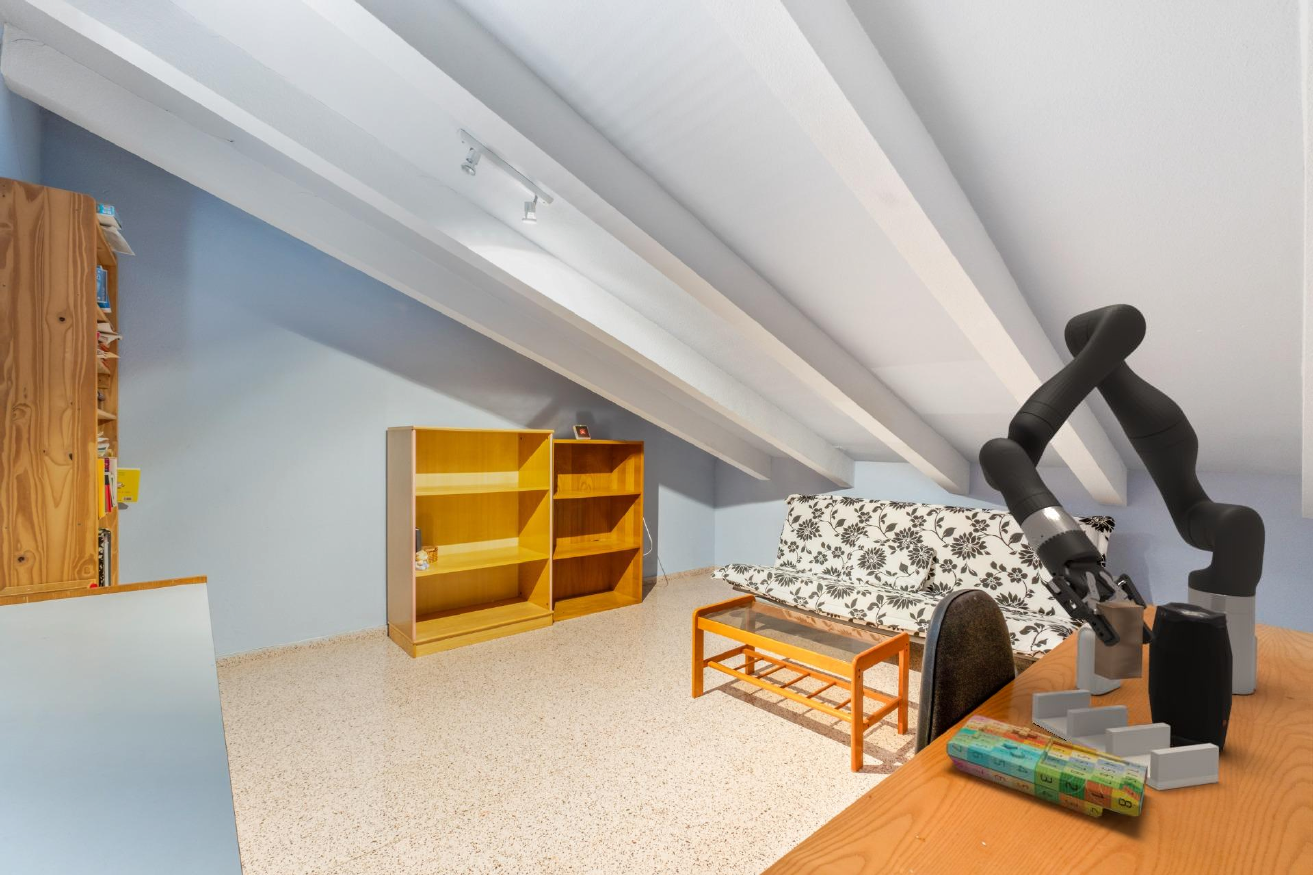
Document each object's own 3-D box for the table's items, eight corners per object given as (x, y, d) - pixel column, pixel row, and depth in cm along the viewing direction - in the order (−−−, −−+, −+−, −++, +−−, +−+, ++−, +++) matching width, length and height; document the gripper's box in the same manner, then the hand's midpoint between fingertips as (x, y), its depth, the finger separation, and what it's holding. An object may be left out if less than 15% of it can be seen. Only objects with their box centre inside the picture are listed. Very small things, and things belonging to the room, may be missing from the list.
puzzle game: (972, 709, 90) (1148, 758, 77) (971, 741, 90) (1147, 796, 77) (946, 736, 82) (1139, 797, 68) (945, 772, 82) (1138, 840, 68)
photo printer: (1097, 678, 116) (1099, 612, 116) (1125, 686, 113) (1126, 617, 113) (1072, 689, 110) (1073, 619, 110) (1099, 698, 107) (1101, 626, 107)
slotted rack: (1084, 717, 99) (1084, 689, 99) (1218, 782, 80) (1218, 747, 80) (1032, 722, 96) (1032, 693, 96) (1157, 790, 78) (1158, 754, 78)
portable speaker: (1246, 758, 87) (1250, 617, 87) (1178, 756, 87) (1182, 615, 87) (1195, 729, 95) (1198, 601, 96) (1132, 727, 96) (1136, 599, 96)
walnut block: (1124, 671, 90) (1126, 602, 90) (1141, 677, 88) (1143, 606, 88) (1094, 673, 89) (1096, 603, 89) (1110, 680, 87) (1112, 608, 87)
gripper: (1036, 528, 94) (1109, 632, 82) (1111, 527, 98) (1192, 627, 86) (1007, 556, 99) (1072, 658, 88) (1080, 555, 103) (1152, 653, 91)
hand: (1131, 642), depth 87 cm, fingers closed on walnut block, 5 cm apart
